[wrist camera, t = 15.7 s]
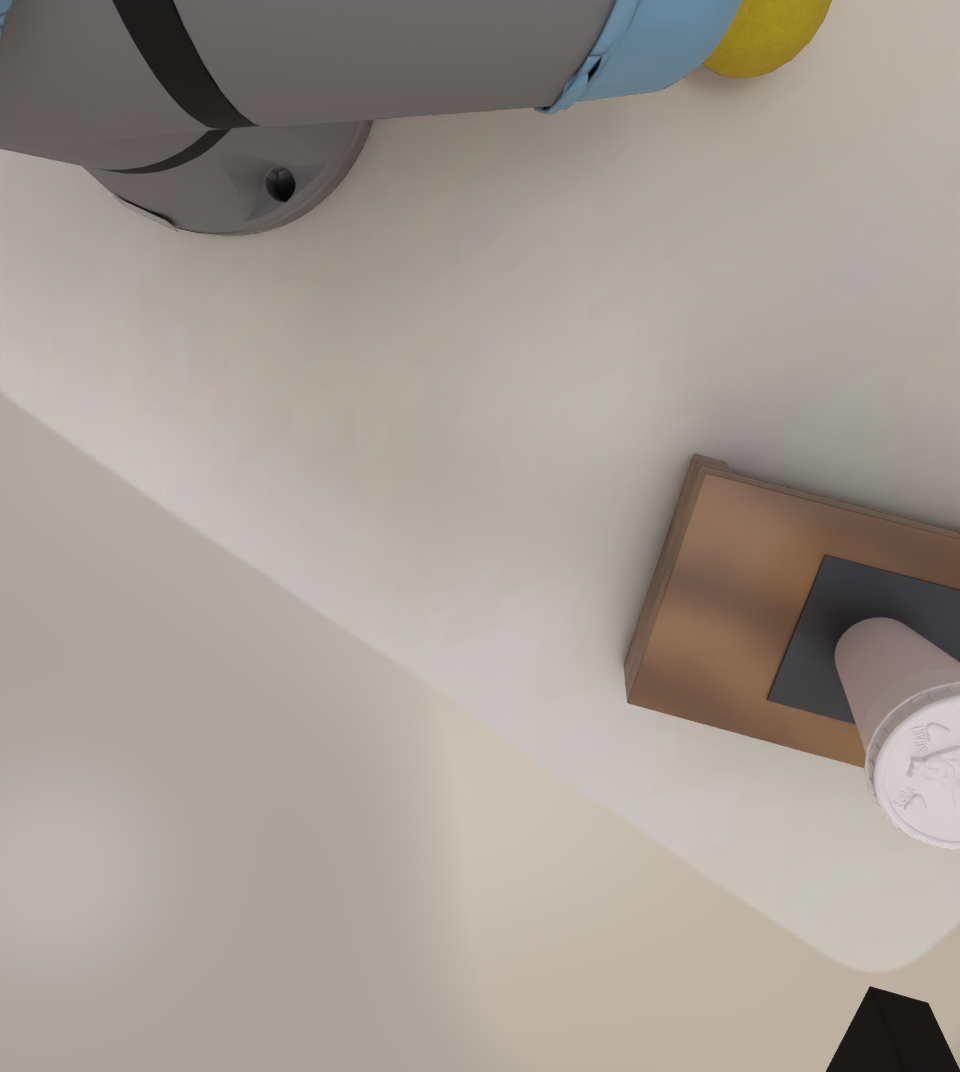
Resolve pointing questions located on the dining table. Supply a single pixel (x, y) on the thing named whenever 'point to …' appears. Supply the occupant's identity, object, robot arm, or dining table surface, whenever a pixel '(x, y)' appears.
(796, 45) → the lemon
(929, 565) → the wooden board with backrest
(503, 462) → the dining table surface
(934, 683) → the smoothie
